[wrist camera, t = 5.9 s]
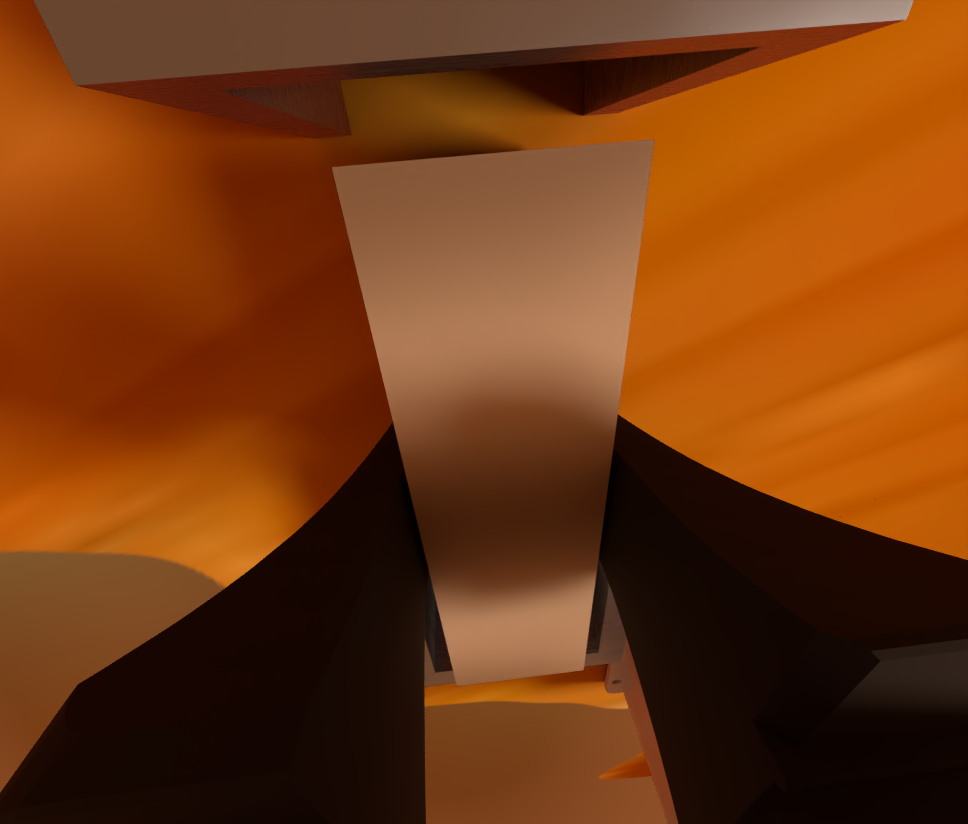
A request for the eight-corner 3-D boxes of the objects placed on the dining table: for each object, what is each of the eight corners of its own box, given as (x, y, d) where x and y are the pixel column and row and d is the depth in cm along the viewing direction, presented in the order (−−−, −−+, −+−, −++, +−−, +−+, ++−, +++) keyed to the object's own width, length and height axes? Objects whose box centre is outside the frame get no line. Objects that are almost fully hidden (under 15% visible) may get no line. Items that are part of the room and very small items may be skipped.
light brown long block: (544, 527, 15) (583, 670, 11) (454, 538, 15) (456, 686, 11) (551, 153, 8) (654, 139, 4) (389, 166, 8) (331, 167, 4)
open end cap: (579, 545, 16) (620, 662, 13) (421, 563, 16) (413, 688, 12) (588, 443, 14) (645, 554, 10) (396, 464, 13) (375, 586, 9)
